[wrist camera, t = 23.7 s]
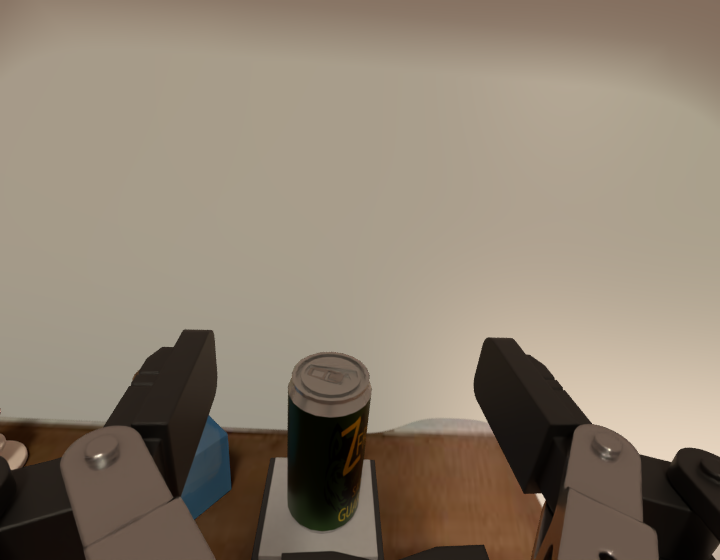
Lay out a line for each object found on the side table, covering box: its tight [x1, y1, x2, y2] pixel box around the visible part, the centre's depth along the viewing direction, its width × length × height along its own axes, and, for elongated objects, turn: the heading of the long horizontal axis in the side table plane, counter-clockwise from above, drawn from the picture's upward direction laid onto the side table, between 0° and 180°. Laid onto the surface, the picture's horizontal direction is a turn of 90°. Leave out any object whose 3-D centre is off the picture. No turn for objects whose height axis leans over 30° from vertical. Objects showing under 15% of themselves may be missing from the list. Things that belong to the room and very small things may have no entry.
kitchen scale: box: [251, 458, 384, 560], centre depth 31 cm, size 9×9×3 cm
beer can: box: [287, 352, 372, 534], centre depth 28 cm, size 5×5×12 cm
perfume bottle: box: [133, 371, 231, 519], centre depth 31 cm, size 6×6×12 cm
